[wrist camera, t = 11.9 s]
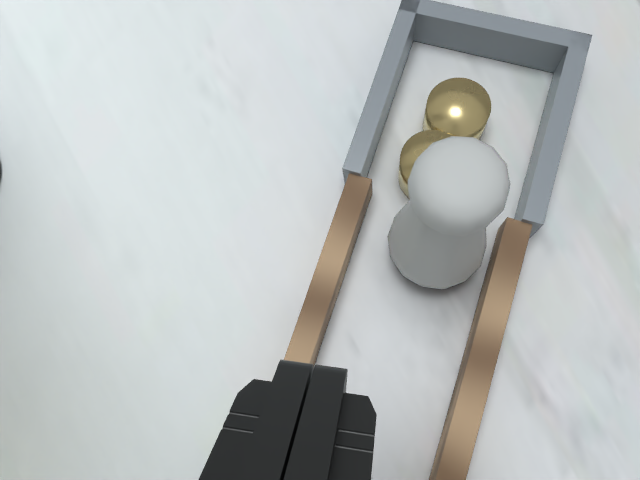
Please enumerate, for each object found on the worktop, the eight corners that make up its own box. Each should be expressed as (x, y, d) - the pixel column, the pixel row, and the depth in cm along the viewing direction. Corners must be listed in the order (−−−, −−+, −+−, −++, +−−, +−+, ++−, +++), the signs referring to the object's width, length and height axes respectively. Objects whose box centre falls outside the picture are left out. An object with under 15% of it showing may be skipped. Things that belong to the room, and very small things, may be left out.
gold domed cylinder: (431, 160, 36) (436, 141, 34) (416, 109, 38) (419, 86, 35) (489, 146, 36) (499, 125, 33) (472, 95, 37) (480, 71, 34)
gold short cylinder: (435, 216, 35) (440, 202, 32) (386, 183, 36) (387, 165, 33) (470, 171, 36) (478, 152, 33) (421, 139, 37) (425, 118, 34)
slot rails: (444, 526, 31) (450, 538, 28) (258, 453, 33) (248, 459, 30) (521, 235, 34) (532, 224, 32) (351, 186, 36) (349, 172, 34)
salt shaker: (496, 265, 34) (565, 195, 22) (420, 312, 34) (445, 270, 21) (443, 192, 36) (478, 88, 23) (370, 237, 35) (366, 156, 23)
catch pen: (529, 237, 34) (543, 224, 31) (345, 185, 36) (342, 168, 34) (575, 62, 37) (592, 34, 34) (401, 23, 39) (403, -6, 36)
